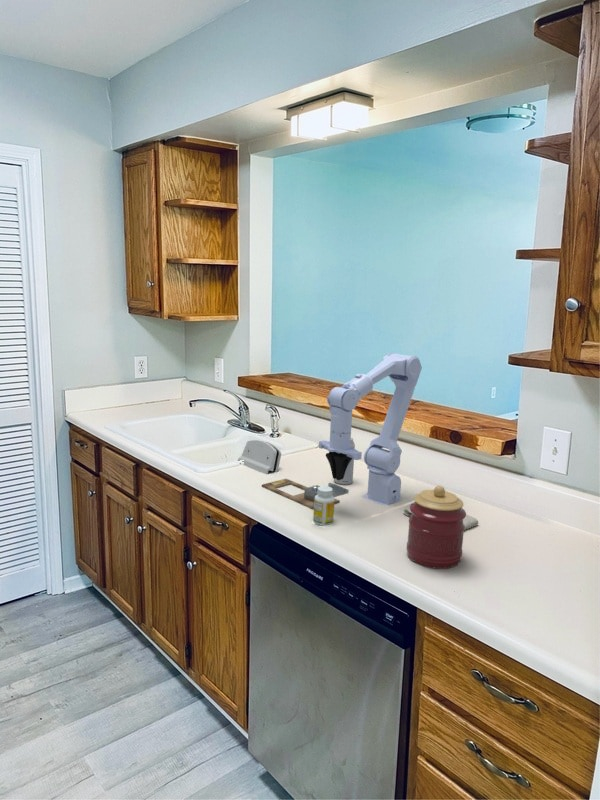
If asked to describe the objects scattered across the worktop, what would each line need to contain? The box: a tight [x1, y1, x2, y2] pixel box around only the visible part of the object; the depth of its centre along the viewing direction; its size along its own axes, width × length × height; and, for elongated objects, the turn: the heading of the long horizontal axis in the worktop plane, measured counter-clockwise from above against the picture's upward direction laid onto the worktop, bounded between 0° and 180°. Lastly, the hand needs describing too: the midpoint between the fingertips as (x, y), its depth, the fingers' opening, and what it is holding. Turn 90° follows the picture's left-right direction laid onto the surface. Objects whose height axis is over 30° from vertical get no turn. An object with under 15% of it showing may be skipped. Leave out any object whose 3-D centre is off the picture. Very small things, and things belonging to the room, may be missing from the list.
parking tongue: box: [327, 482, 350, 498], centre depth 179 cm, size 8×7×2 cm
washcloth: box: [403, 506, 479, 531], centre depth 161 cm, size 12×18×3 cm, turn 42°
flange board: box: [261, 478, 341, 511], centre depth 175 cm, size 24×10×2 cm, turn 42°
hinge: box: [237, 439, 282, 475], centre depth 202 cm, size 17×5×10 cm, turn 44°
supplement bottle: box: [312, 485, 335, 527], centre depth 156 cm, size 5×5×10 cm
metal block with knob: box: [303, 485, 320, 502], centre depth 170 cm, size 5×5×4 cm
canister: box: [406, 485, 467, 569], centre depth 137 cm, size 13×13×18 cm
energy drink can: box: [333, 437, 356, 486], centre depth 186 cm, size 6×6×15 cm
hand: (338, 478), depth 162 cm, fingers closed
